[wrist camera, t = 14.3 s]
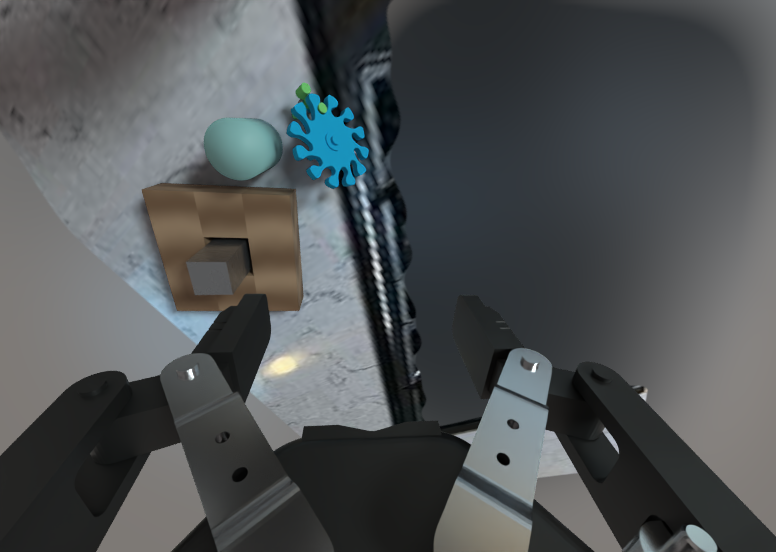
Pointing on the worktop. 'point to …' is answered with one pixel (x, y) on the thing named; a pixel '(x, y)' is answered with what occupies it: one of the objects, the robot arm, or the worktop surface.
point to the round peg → (242, 147)
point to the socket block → (229, 220)
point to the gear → (326, 138)
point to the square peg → (220, 266)
